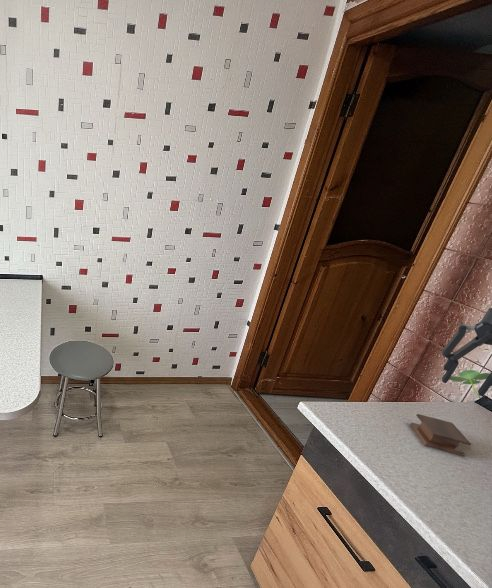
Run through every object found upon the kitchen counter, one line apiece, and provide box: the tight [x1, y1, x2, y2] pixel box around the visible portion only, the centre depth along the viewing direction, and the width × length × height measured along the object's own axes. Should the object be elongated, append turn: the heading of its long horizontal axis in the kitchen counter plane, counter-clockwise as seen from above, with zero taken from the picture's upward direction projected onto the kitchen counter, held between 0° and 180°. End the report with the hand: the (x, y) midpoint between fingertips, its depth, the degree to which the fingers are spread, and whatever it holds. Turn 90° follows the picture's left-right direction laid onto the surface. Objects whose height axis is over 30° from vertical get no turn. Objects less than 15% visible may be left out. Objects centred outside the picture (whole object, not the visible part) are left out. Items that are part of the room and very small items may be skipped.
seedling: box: [448, 369, 490, 399], centre depth 89 cm, size 7×8×7 cm
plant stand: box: [409, 413, 472, 457], centre depth 91 cm, size 8×8×4 cm
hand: (461, 387), depth 91 cm, fingers closed on seedling, 6 cm apart
